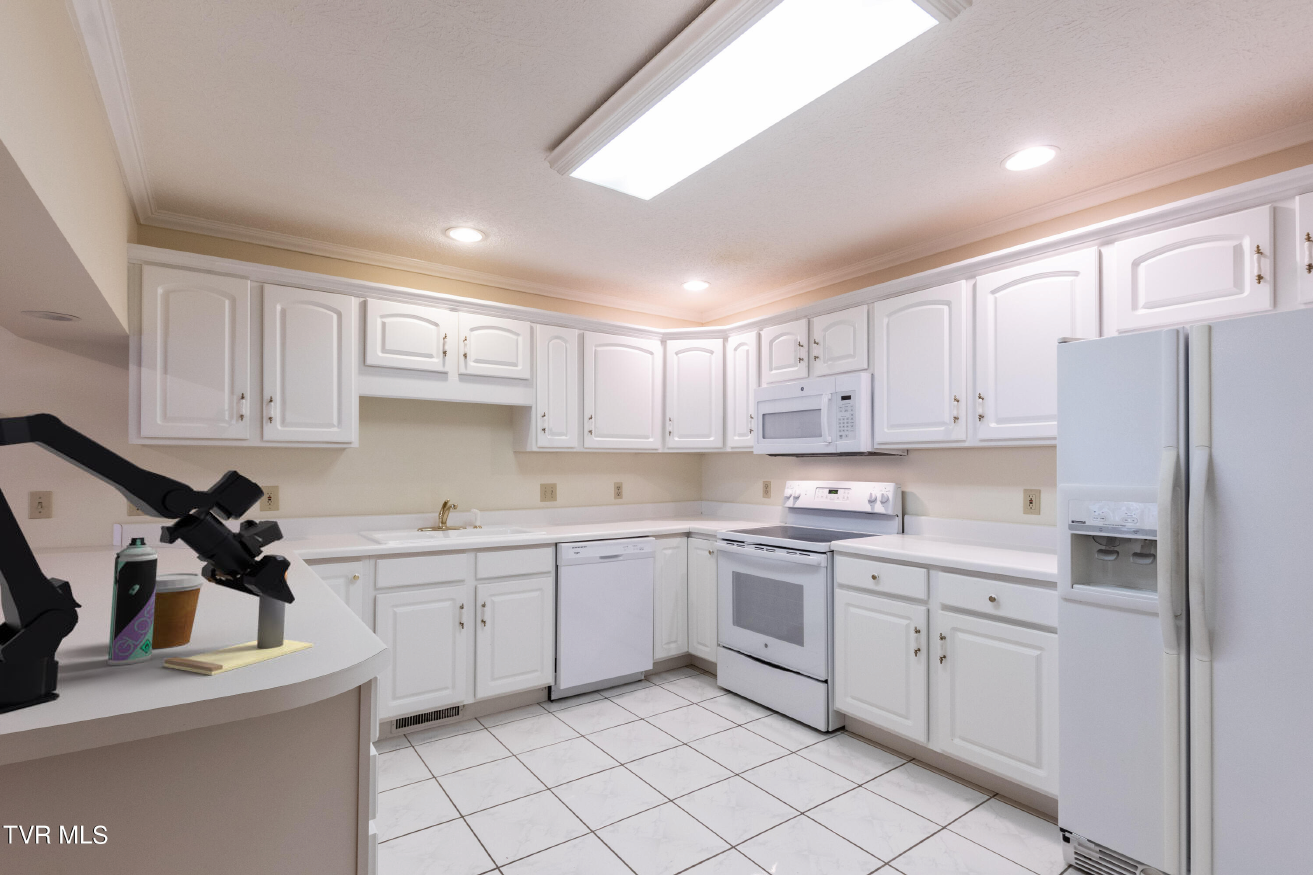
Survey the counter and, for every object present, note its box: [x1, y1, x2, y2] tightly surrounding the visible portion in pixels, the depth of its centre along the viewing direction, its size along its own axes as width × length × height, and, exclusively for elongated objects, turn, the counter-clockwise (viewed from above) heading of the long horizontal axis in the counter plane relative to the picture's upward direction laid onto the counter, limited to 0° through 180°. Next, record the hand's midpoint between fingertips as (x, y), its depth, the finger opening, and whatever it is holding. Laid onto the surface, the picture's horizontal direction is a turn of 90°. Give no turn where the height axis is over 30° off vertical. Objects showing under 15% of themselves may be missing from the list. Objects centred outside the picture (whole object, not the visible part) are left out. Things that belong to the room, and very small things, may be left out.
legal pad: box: [164, 639, 314, 676], centre depth 108 cm, size 18×11×1 cm, turn 159°
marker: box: [256, 570, 288, 649], centre depth 113 cm, size 4×4×14 cm
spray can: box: [107, 537, 158, 666], centre depth 105 cm, size 6×6×20 cm
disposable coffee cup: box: [152, 572, 205, 649], centre depth 115 cm, size 10×10×12 cm
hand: (278, 598), depth 114 cm, fingers open, 9 cm apart
